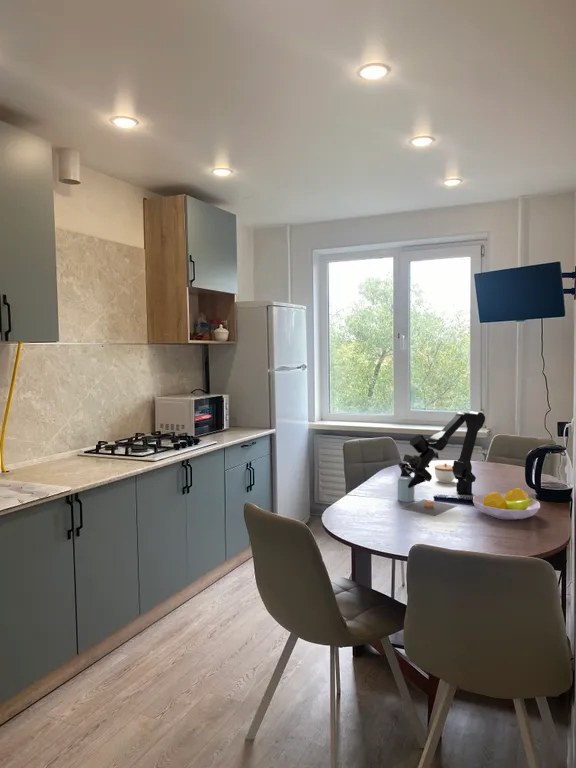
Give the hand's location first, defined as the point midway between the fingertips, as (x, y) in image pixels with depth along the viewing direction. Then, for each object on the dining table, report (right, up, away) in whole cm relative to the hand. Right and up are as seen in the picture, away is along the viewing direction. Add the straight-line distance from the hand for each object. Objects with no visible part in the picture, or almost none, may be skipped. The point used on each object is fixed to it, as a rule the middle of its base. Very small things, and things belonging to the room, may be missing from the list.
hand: (403, 485), depth 260 cm
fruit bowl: (+38, -9, -22) cm, 45 cm away
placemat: (+9, -8, -11) cm, 16 cm away
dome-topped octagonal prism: (+1, -7, +1) cm, 7 cm away
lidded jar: (+29, -5, +38) cm, 48 cm away
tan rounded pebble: (+9, -7, -11) cm, 16 cm away
